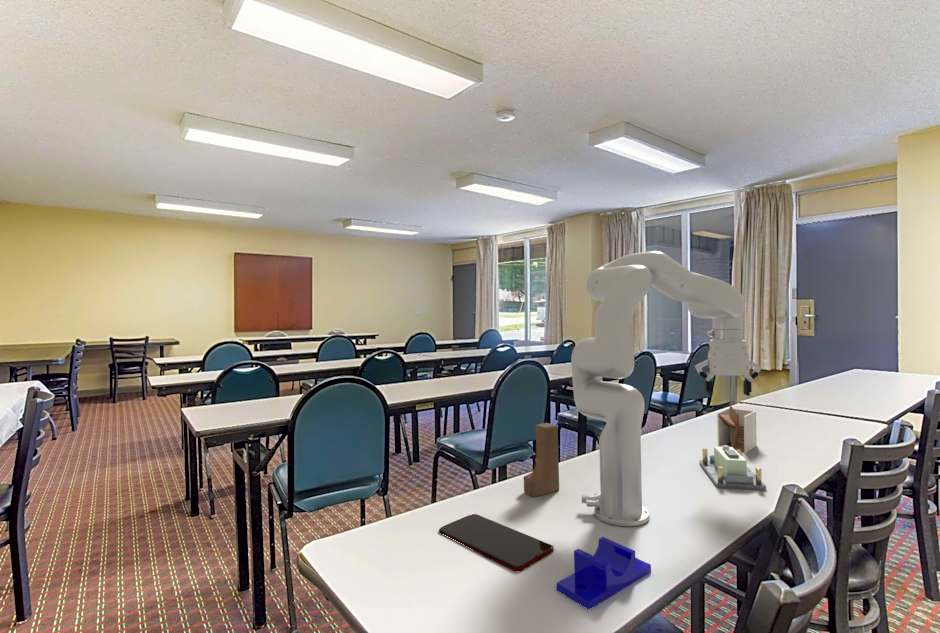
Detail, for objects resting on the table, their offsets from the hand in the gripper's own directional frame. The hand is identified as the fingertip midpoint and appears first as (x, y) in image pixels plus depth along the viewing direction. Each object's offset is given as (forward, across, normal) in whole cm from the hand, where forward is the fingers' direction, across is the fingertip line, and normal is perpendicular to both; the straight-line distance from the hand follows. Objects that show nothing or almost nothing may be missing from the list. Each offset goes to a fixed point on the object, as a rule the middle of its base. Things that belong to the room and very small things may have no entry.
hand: (728, 394), depth 138 cm
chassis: (+24, 0, 0) cm, 24 cm away
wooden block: (+24, -52, -20) cm, 61 cm away
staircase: (+24, +11, +31) cm, 41 cm away
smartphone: (+25, -60, -49) cm, 82 cm away
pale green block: (+22, 0, 0) cm, 23 cm away
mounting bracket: (+25, -37, -61) cm, 75 cm away
